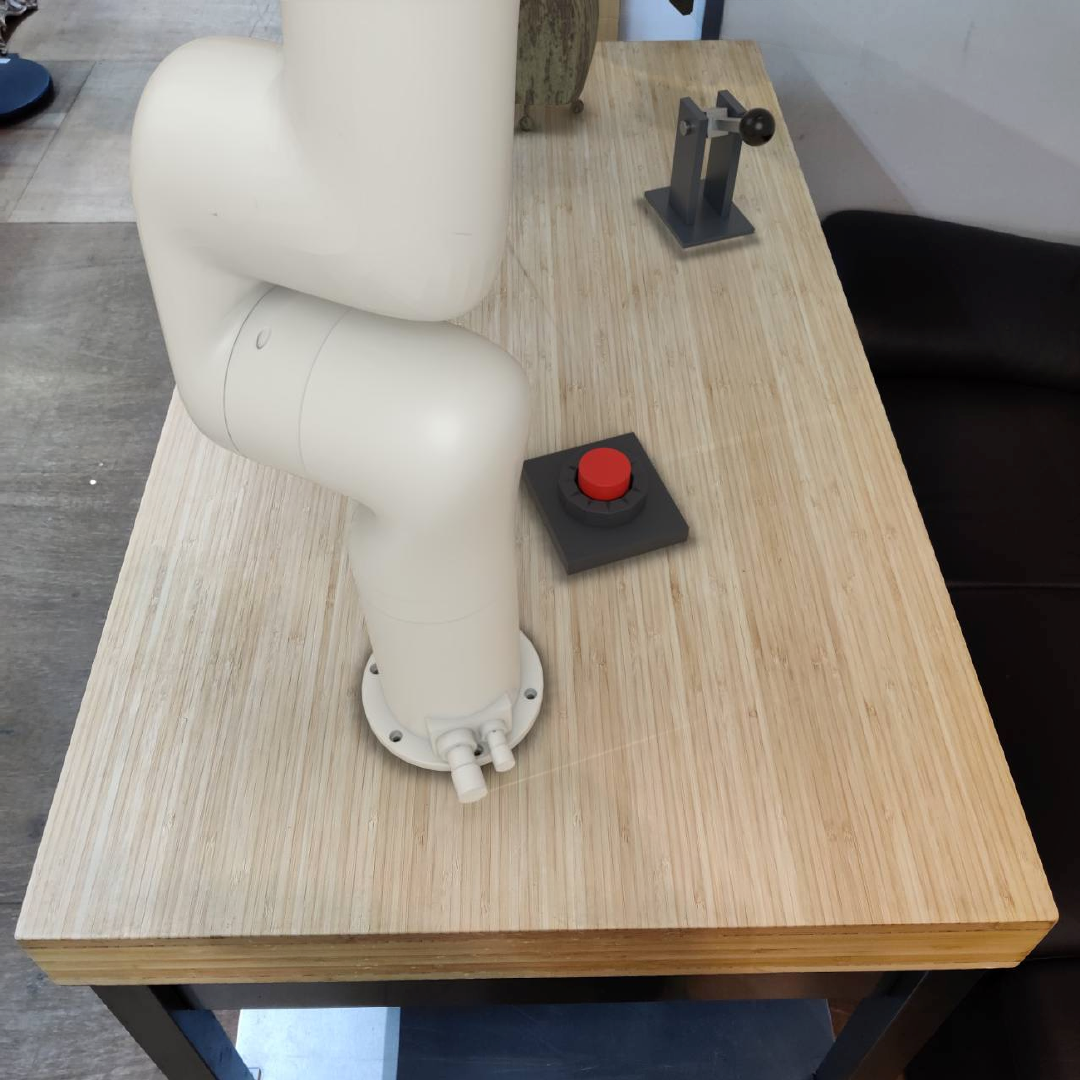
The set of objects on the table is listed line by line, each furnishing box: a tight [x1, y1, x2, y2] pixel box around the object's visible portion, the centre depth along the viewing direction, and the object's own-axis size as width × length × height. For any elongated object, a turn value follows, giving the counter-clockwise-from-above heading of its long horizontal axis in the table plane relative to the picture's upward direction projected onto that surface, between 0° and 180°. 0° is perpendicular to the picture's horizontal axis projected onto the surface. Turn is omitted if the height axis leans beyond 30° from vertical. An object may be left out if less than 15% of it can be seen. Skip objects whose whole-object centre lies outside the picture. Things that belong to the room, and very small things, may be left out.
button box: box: [521, 431, 690, 576], centre depth 78 cm, size 11×10×4 cm
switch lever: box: [700, 106, 777, 148], centre depth 91 cm, size 12×3×3 cm, turn 20°
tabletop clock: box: [515, 0, 600, 132], centre depth 106 cm, size 14×9×25 cm, turn 80°
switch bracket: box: [643, 89, 756, 249], centre depth 98 cm, size 10×8×13 cm
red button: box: [578, 448, 631, 501], centre depth 76 cm, size 4×4×2 cm
